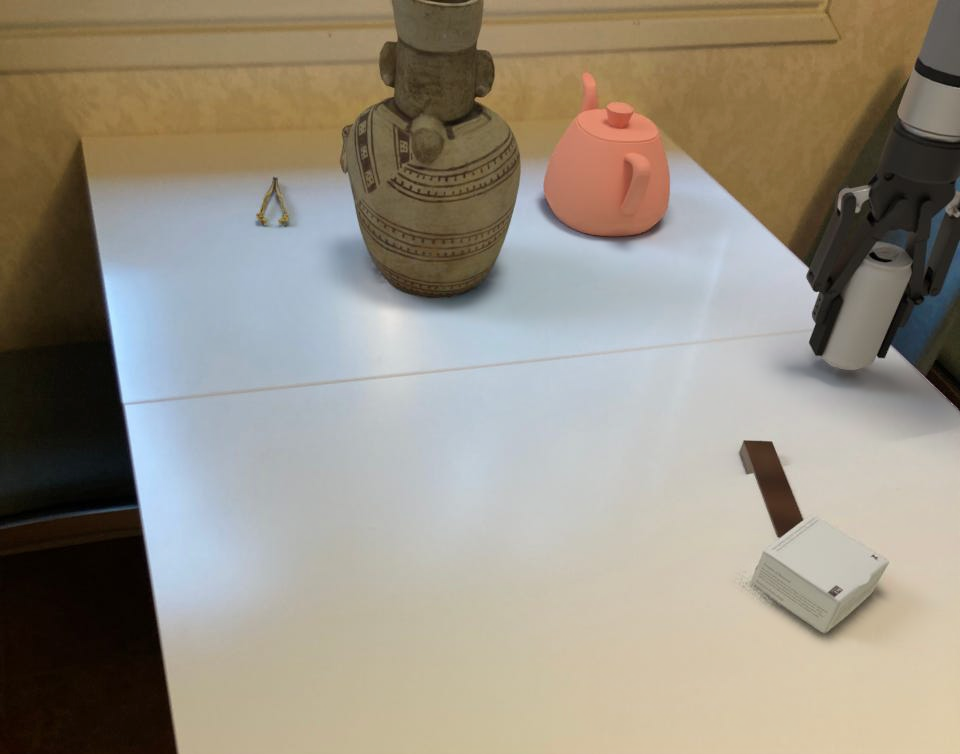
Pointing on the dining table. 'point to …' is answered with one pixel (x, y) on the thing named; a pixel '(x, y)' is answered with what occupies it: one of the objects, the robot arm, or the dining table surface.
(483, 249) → the ceramic vessel
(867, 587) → the small box
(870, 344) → the beverage can
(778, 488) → the walnut slat
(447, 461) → the dining table surface
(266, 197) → the tongs
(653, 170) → the teapot
